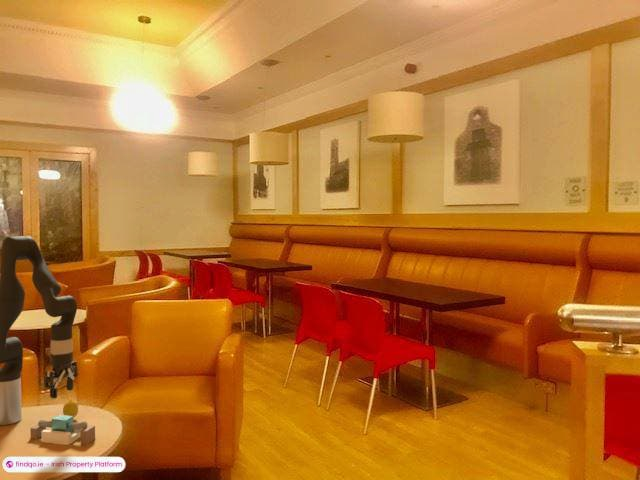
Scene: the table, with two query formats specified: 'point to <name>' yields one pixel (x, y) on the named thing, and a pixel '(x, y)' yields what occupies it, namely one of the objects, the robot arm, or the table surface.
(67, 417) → the green rectangular block
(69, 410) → the lemon
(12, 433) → the table surface
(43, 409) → the table surface
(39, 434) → the shaft rig
